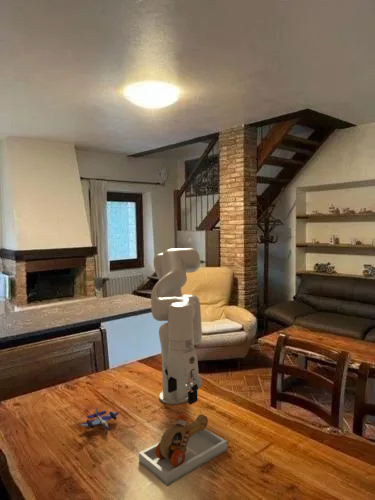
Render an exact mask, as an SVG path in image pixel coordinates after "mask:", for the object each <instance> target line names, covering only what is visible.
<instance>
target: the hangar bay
mask: <svg viewBox="0 0 375 500" xmlns="http://www.w3.org/2000/svg"><path fill="white" fill-rule="evenodd" d="M160 442H161V441H160ZM160 442H159V441H158V443H155V444H154V445H152V446H150V447H148V448H146V449H144V450H142V451H139V452H138V463H139V464H141V466H143V467H144V468H146V469H147V470H148V471H149V472H150V473H151V474H152V475H154V476H155V477H156V478H157V479H159V481H160V482H162V483H163V484H164V485H166V487H168V486H170V485H172V484H173V483H175V482H176V481H178V480H180V479H182V478H183V477H185V476H187V475H188V474H190V473H191V472H193V471H195V470H196V469H198V468H199V467H201V466H203V465H204V464H206V463H208V462H209V461H211V460H213V459H215V458H216V457H218V456H220V455H221V454H223V453H224V452H226V451H227V450H228V440H226V439H224V438H223V437H220V436H219V435H217V434H215V433H214V432H212V431H211V430H209V429H207V427H206V428H205V429H204V430H203V431H200V430H199V431H198V432H196V433H195V434H194V435H192V436H191V437H190V438H189V440H188V443H187V447H186V449H187V450H186V452H185V460H184V462H183V464H181V465H180V466H178V467H176V468H175V467H173V466H172V465H171V462H170V460H168V459H167V458H164V459H159V458H158V457H156V454H155V450H156V447H157V445H158V444H159V443H160Z"/></svg>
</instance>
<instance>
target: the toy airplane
mask: <svg viewBox="0 0 375 500" xmlns="http://www.w3.org/2000/svg"><path fill="white" fill-rule="evenodd" d="M94 409H95V411H94V412H95V413H93V414H90V415H88V416H86V417H87V419H86V422H82V423H81V424H80V425H81V426H82V427H89V428H90V429H94V426H99V425H100V426H101V427H102V428H104V429H105V434H108V431H109V432H110V433H112V431H111V430H110V428H109V424H108V421H110V420H112V419H113V420H117V416H118V415H119V412H118V411H115V412H113V411H109V413H108V412H107V411H106V410H104V411H103V410H102V411H98V407H96V406H95V407H94ZM107 413H108V414H107ZM90 419H92V420H90ZM106 429H107V430H106Z"/></svg>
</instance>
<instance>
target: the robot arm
mask: <svg viewBox="0 0 375 500" xmlns="http://www.w3.org/2000/svg"><path fill="white" fill-rule="evenodd" d="M152 261H153V268H154V272H155V274H156V276H157V279H158V281H157V282H156V283H155V284H154V286H153V288H152V290H151V295H150V300H151V301H150V305H151V306H150V307H151V315H152V317H153V319H154V320H155V321H157V322H164V323H163V324H161V325H160V327H159V328H158V336H159V343H160V348H161V370H162V372H161V373H162V378H161V379H162V391H161V392H160V393H158V394H159V395H158V397H159V401H160V402H162V403H163V404H165V405H166V404H167V405H180V404H183V403H186V402H187V403H188V405H189V406H191V405H192V404H196V403H197V402H198V390H199V389H200V388H201V386H202V383H203V379H202V377H201V376H200V375H199V364H198V356H197V352H196V348H195V345H198V344H200V343H201V342H202V339H203V327H202V314H201V313H202V311H201V302H200V300H199V297H198V296H197V295H196V294H182V288H183V287H184V286H185V284H186V283H187V281H188V277H187V274H191V273H192V274H193V273H195V272H197V271H198V270H199V268H200V265H201V257H200V254H199V251H198V250H197V249H195V248H193V247H186V248H185V247H184V248H179V247H178V248H169V249H166V250H165V251H163V252H160V253H157V254H155V255H154V257H153V260H152Z"/></svg>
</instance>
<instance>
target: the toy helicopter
mask: <svg viewBox="0 0 375 500" xmlns="http://www.w3.org/2000/svg"><path fill="white" fill-rule="evenodd" d="M165 418H169V419H174V422H175V423H174V424H172V425H171V426H169V427H168V428H167V429H166V430H165V431H164V432H163V434H162V436H161V439H160V443H159V442H158V443H159V444H158V445H157V447H156V450H155V454H156V457H158V458H159V459H164V458H167V459H168V460H170V462H171V465H172V466H173V467H175V468H176V467H178V466H180V465H181V464H183V462H184V460H185V452H186V450H187V449H186V447H187V443H188V440H189V438H190V437H191V436H192V435H194V434H195V433H196V432H198V431H199V430H200V431H203V430H204V429H205V428H206V429H207V426H208V424H209V418H208V417H207V416H206V415H204V414H199V415H198V416H196V419H195V420H193V419H190V418H186V415H185V414H184V413H179V414H178V415H176V414H175V415H174V414H165ZM187 422H190V423H188V424H187Z"/></svg>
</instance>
